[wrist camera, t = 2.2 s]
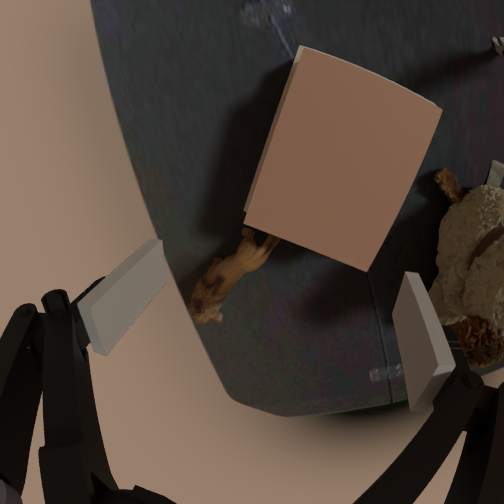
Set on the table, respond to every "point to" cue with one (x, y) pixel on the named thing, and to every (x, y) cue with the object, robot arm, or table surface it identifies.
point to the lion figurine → (227, 276)
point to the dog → (472, 266)
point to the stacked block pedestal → (339, 158)
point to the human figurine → (497, 46)
